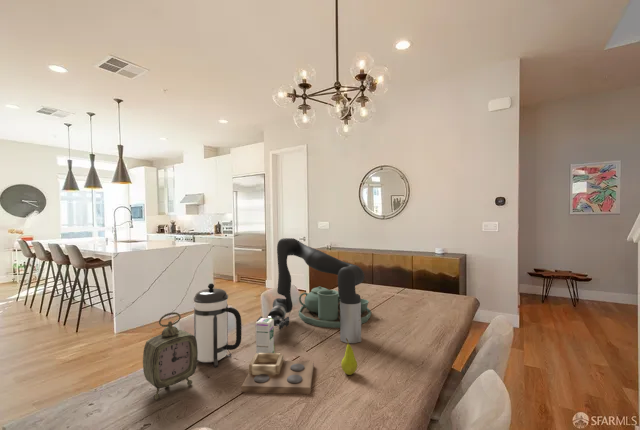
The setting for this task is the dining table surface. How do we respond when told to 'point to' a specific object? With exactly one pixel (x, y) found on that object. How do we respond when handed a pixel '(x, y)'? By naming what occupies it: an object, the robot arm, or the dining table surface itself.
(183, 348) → the tabletop clock
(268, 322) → the syrup box
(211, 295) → the coffee press
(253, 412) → the dining table surface
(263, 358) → the wooden board with discs
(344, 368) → the fruit
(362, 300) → the tea set
